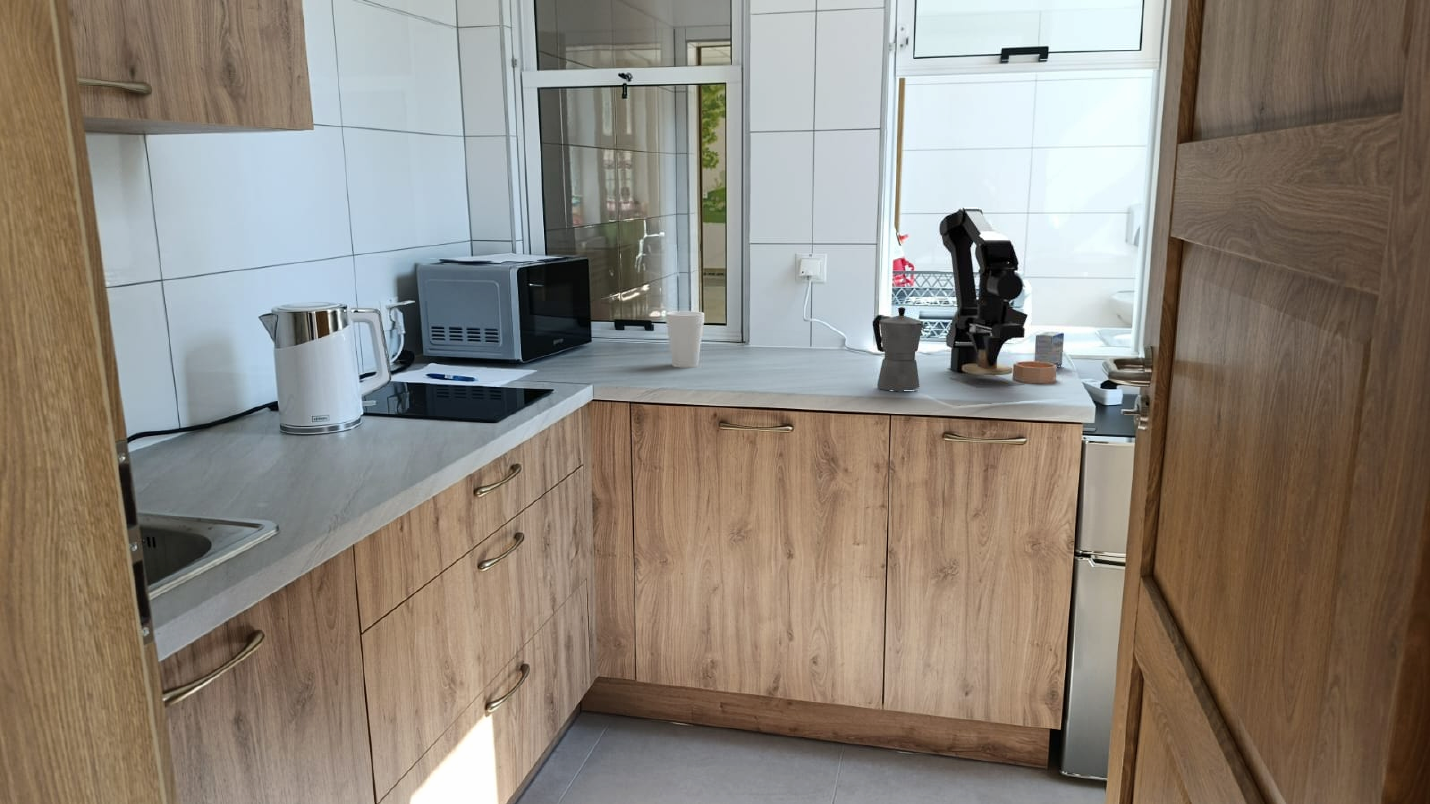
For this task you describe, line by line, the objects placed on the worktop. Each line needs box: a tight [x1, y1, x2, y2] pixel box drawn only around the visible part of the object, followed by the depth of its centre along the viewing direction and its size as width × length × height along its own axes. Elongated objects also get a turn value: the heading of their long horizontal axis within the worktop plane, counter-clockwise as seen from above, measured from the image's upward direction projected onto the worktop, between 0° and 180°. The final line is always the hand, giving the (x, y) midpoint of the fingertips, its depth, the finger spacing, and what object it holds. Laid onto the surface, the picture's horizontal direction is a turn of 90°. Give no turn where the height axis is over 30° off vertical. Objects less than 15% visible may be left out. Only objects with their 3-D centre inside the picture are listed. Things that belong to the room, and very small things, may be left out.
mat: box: [949, 375, 1025, 389], centre depth 231 cm, size 12×12×1 cm
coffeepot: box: [872, 306, 925, 391], centre depth 224 cm, size 15×9×18 cm, turn 33°
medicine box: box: [1033, 331, 1065, 368], centre depth 251 cm, size 8×4×9 cm, turn 143°
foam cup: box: [665, 310, 705, 369], centre depth 251 cm, size 10×9×13 cm
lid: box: [962, 349, 1013, 376], centre depth 230 cm, size 11×11×5 cm
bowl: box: [1012, 360, 1058, 384], centre depth 233 cm, size 9×9×4 cm
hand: (987, 364), depth 230 cm, fingers closed on lid, 3 cm apart
